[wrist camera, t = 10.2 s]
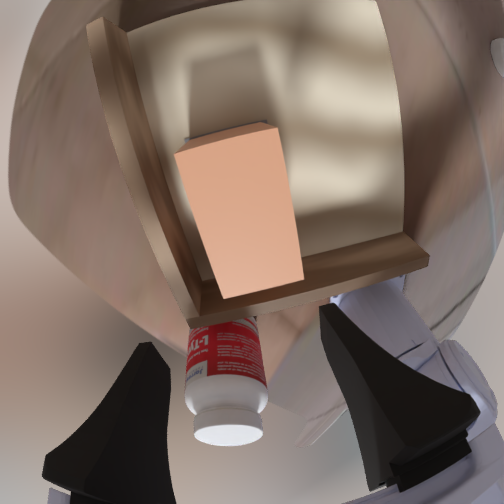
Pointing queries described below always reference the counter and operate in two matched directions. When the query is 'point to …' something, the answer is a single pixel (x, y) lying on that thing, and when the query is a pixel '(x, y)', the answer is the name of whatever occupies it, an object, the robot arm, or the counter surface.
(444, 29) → the counter surface
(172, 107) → the tray
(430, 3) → the counter surface
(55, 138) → the counter surface
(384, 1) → the counter surface
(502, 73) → the bottle
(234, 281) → the block
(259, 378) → the pill bottle
